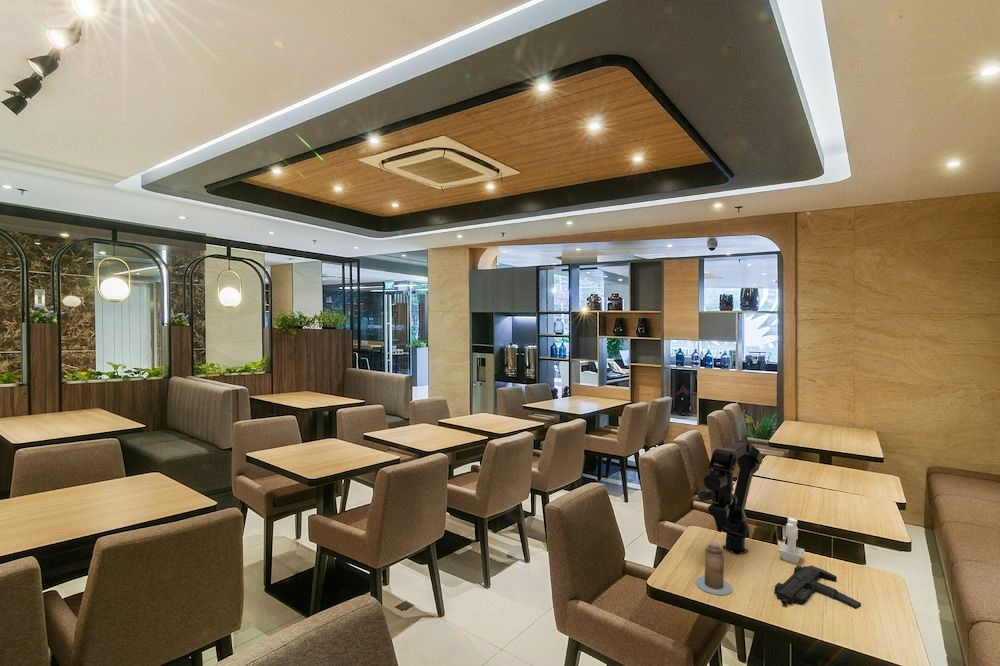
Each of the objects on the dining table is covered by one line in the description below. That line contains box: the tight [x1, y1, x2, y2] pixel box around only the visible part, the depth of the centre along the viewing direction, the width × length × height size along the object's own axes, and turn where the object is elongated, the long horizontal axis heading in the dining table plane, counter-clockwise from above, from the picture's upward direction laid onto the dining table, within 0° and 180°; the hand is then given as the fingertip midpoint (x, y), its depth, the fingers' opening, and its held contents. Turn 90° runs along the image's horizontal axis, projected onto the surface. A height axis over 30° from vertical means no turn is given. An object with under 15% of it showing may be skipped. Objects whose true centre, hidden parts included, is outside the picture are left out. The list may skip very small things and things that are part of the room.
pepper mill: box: [704, 542, 725, 589], centre depth 164 cm, size 6×6×13 cm
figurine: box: [777, 517, 806, 565], centre depth 183 cm, size 7×9×15 cm
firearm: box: [773, 564, 862, 610], centre depth 159 cm, size 3×30×20 cm
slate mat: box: [695, 575, 733, 596], centre depth 164 cm, size 11×11×1 cm
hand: (722, 527), depth 181 cm, fingers open, 9 cm apart
